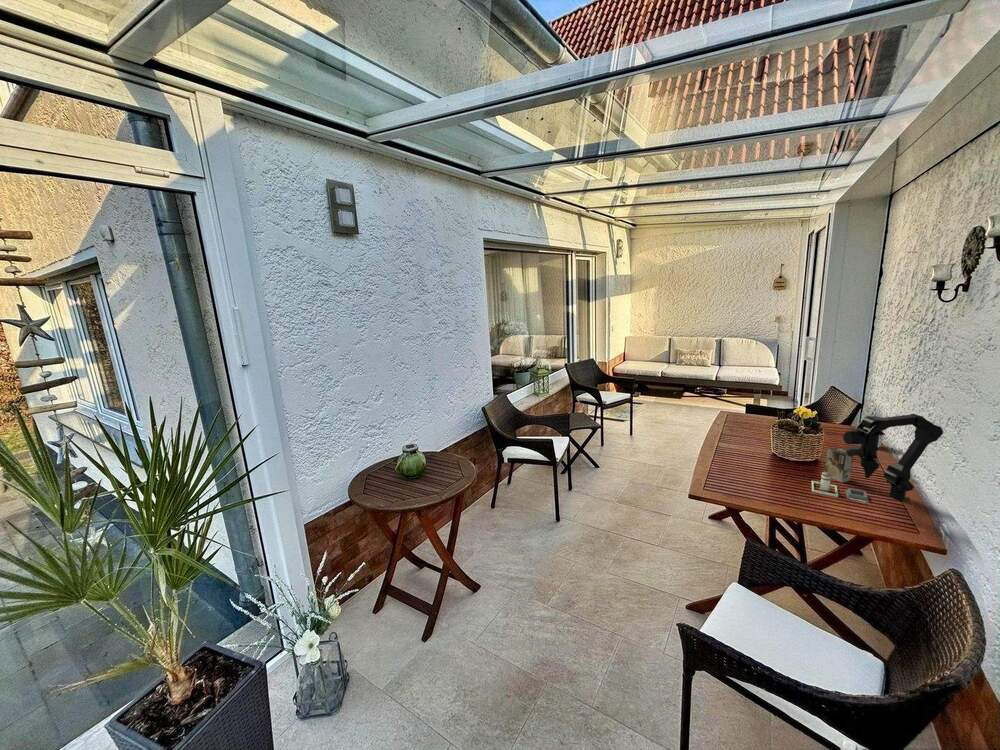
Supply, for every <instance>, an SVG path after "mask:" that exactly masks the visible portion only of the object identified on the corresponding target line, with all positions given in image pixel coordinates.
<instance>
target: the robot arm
mask: <svg viewBox="0 0 1000 750" xmlns="http://www.w3.org/2000/svg"><path fill="white" fill-rule="evenodd" d="M903 426H913V427H915V430H914V439H913V441H912V442H911V444H910V445H909V446H908V448H907V449H906V451H905V452H904V453H903V455H902V456H901V458H900V459H899V461H898V462H897V463H896V464H894V465H891V464H889V465H888V466H887V467H886V469H885V470H884V471H883V472H884V473H883V476H884V478H885V481H886V483H888V484H890V486H889V487H890V488H889V492H888V496H889V497H891V498H892V499H894V500H896V501H897V500H898V501H903V500H906V497H907V492H909V491H913V489H914V488H915V486H914V485H913V484H912V483H911V482H910V479H911V476H912V475H911V469H912V468H913V467H914V466H915V464H916V462H917V461H918V460H919V459H920V457H921V455H922V454H923V453H924V451H925V450H926V449H927V447H928V445H929V444H932V443H933V442H936V441H937V440H939V439H940V438H941V436H943V434H944V431H943V428H942V427H941V426H940V425H936V424H935V423H932V422H931V421H929V420H928V419H926V418H925V417H924V416H922V415H919V414H916V413H910V414H904V415H895V416H887V417H885V416H884V417H883V416H882V417H881V416H874V415H873V416H871V415H868V416H865V417H864V418H863V419H862V420H861V421H860V422H859V423H858V424H857V425H856V426H855V428H854V429H847V430H846V431H847V432H844V434H843V435H842V439H843V441H844V443H845V444H847V445H853V446H847V447H845V448H844V450H846V453H847V455H848V456H853V457H854V456H858V457H859V458H860V462H859V463H860V466H861V467H862V470H863V471H864V477H865V479H870V478H871V476H872V475H873V474H874V473H875V472H876V471H877V470H878V469H879V468H880V462H879V461H878V460H877V459H878V451H879V449H878V442H879V435H882V436H885V435H886V433H884V431H885V430H887V429H889V428H894V427H903ZM864 427H865V428H867V429H870V430H867V429H865V428H864ZM882 431H883V432H882Z"/></svg>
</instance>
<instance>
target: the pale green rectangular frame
mask: <svg viewBox="0 0 1000 750" xmlns="http://www.w3.org/2000/svg"><path fill="white" fill-rule="evenodd" d="M815 484H816V485H820V484H821V481H815V480H811V492H812V493H815V494H821V495H824V496H829V497H835V498H839V492H838V491H839V490H838V487H837V484H836V485H835V484H831V483H830V487H831V488H834V491H835V492H834V493H830V492H826V491H822V490H817V489H815V486H814V485H815ZM830 487H829V488H830Z"/></svg>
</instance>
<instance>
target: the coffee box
mask: <svg viewBox="0 0 1000 750" xmlns="http://www.w3.org/2000/svg"><path fill="white" fill-rule="evenodd" d="M853 460H854V456H848V455H847V453H846V450H845V449H843V448H840V447H839V448H838V447H837V446H834V447H830V448H828V449H827V454H826V462H825V470H824V472H828V473H831V474H832V475H831V479H833V480H835V481H837V482H840V483H845V482H846V483H847V482H849V481H850V480H851V475H852V473H851V472H852V466H853Z"/></svg>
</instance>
